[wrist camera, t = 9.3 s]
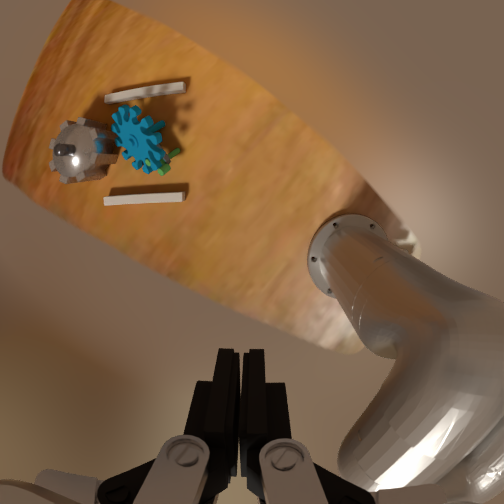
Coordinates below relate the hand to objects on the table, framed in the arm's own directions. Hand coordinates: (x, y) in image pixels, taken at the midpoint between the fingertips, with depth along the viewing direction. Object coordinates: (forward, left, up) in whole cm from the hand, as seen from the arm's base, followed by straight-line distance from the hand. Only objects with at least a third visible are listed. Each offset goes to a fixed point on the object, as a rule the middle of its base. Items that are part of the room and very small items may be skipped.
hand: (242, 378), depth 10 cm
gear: (+14, -12, -29) cm, 35 cm away
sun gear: (+24, -12, -29) cm, 39 cm away
